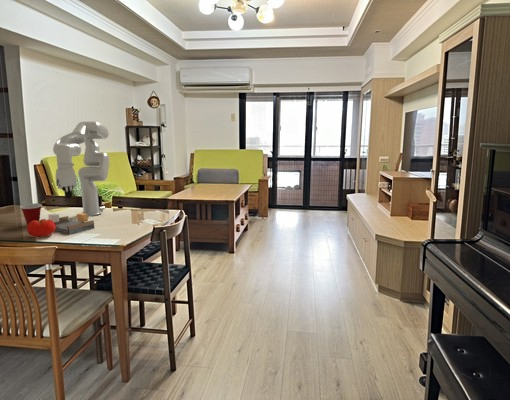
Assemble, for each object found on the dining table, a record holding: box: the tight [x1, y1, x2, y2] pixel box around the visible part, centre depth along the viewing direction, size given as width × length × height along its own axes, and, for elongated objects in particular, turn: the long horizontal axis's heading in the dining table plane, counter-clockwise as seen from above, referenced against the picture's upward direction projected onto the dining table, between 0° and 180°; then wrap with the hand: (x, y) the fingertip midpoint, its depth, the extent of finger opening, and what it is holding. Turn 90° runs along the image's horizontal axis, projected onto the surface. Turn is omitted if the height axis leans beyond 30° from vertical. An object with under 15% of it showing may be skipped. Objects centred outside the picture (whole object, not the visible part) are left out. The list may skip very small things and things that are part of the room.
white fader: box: [47, 212, 60, 224], centre depth 194 cm, size 3×5×5 cm, turn 61°
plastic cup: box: [19, 203, 43, 226], centre depth 201 cm, size 11×11×12 cm
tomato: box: [26, 218, 56, 239], centre depth 179 cm, size 14×13×9 cm
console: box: [54, 215, 95, 235], centre depth 194 cm, size 15×24×4 cm, turn 61°
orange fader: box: [76, 212, 89, 223], centre depth 195 cm, size 3×5×5 cm, turn 61°
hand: (68, 197), depth 200 cm, fingers closed
